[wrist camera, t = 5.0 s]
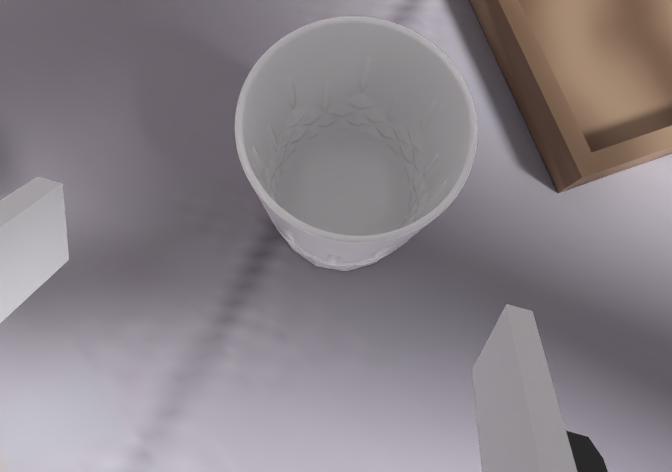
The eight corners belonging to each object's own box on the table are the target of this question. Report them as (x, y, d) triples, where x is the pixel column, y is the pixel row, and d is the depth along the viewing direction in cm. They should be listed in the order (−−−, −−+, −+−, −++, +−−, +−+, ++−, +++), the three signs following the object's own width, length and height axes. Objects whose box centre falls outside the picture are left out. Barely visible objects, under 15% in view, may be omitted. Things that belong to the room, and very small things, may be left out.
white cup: (346, 107, 27) (364, -27, 18) (449, 213, 26) (528, 134, 16) (233, 200, 26) (183, 111, 16) (336, 316, 25) (349, 296, 15)
